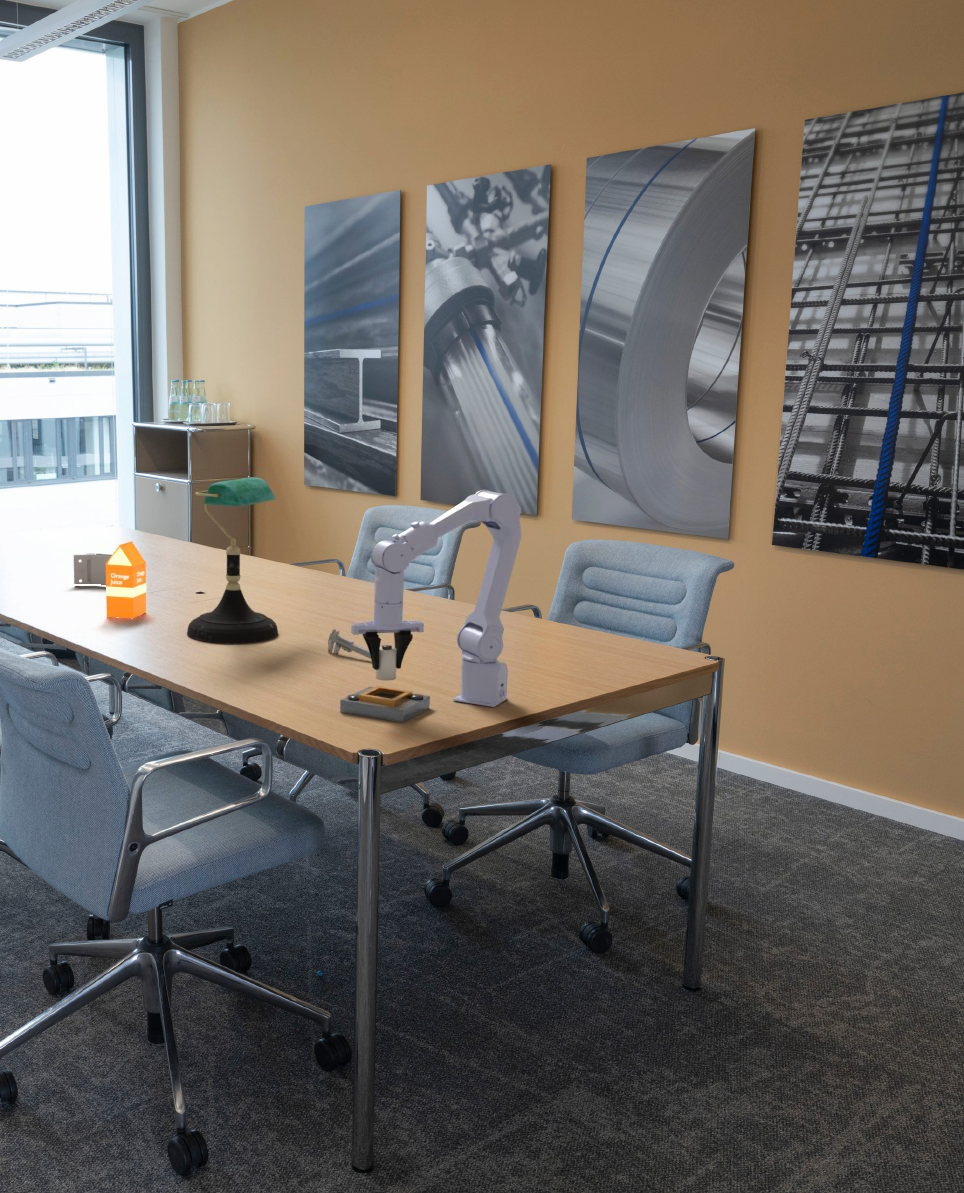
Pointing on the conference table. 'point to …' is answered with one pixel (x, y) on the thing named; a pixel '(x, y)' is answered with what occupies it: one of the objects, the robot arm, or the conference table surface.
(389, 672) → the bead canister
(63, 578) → the conference table surface
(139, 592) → the orange juice
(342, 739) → the conference table surface
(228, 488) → the banker's lamp
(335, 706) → the conference table surface
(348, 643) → the caliper
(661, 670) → the conference table surface
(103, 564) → the hinge
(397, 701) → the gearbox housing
